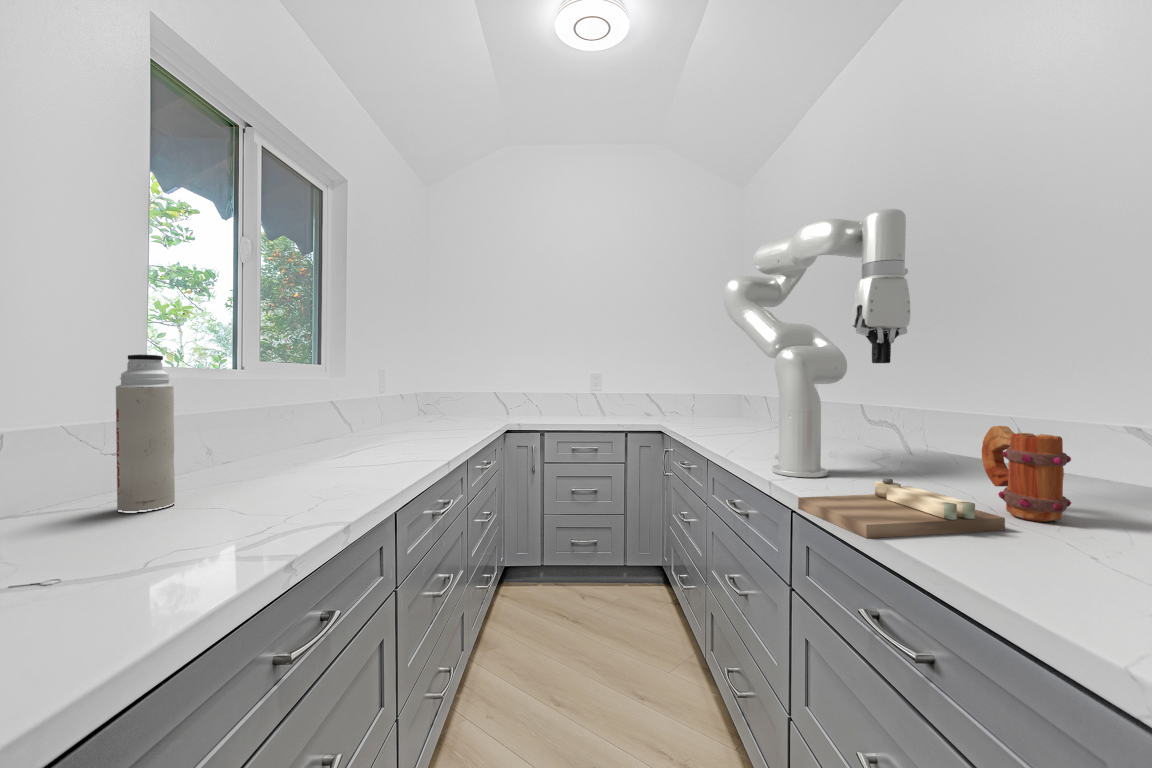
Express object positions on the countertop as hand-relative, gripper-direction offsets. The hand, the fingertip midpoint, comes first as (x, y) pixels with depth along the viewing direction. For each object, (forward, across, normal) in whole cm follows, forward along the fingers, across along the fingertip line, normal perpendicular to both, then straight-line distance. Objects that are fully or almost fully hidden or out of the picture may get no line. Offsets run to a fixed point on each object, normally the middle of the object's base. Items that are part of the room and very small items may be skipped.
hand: (880, 362), depth 102 cm
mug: (+27, -13, +18) cm, 35 cm away
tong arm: (+24, +7, +17) cm, 31 cm away
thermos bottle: (+28, +141, -8) cm, 144 cm away
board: (+27, +11, +17) cm, 34 cm away
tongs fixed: (+24, +6, +18) cm, 31 cm away
